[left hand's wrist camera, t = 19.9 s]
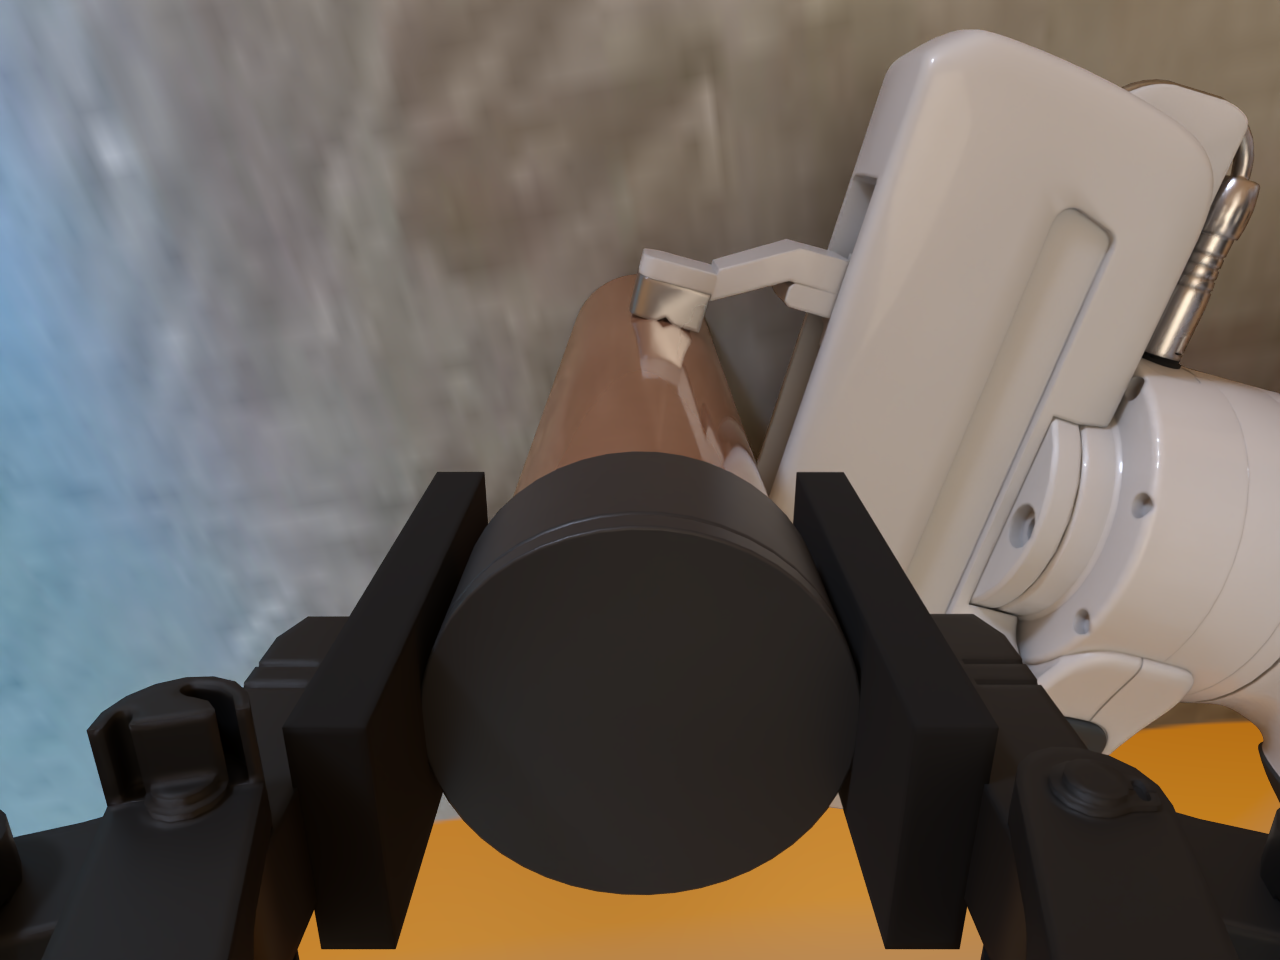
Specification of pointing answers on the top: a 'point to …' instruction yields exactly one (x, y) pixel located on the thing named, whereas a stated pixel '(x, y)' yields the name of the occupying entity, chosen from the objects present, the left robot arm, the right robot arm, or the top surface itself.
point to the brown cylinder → (638, 393)
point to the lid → (640, 679)
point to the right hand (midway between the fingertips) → (606, 392)
